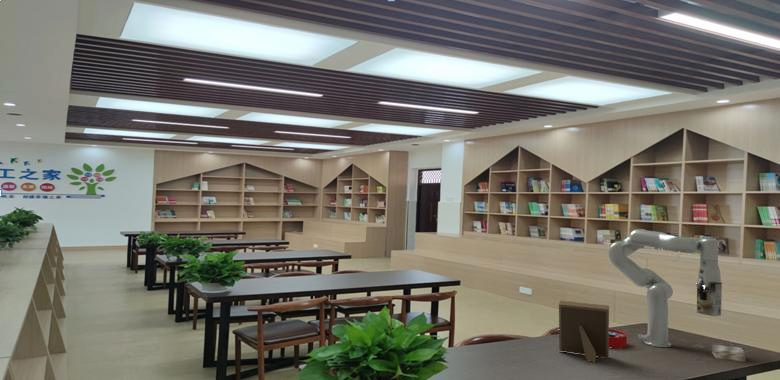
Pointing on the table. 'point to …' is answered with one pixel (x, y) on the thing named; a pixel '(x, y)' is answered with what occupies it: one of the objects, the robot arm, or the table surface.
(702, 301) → the coffee box
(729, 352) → the stand
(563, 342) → the photo frame
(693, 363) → the table surface
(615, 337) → the toy clock
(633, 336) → the table surface
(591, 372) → the table surface
